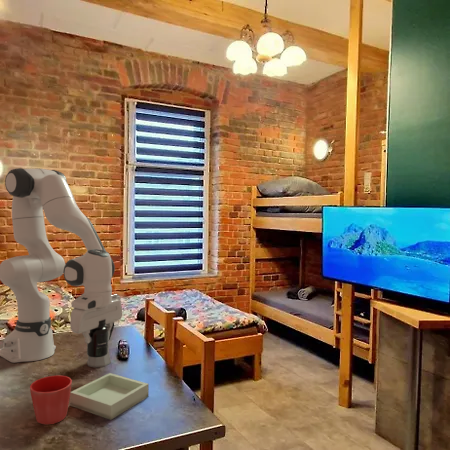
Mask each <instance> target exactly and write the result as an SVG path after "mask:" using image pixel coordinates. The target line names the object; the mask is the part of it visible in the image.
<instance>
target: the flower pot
mask: <svg viewBox="0 0 450 450" xmlns="http://www.w3.org/2000/svg"><path fill="white" fill-rule="evenodd" d="M72 381H73V380H72V379H71V377H69V376H67V375H56V374H55V375H49V376H44V377H42V378H38V379H36V380H35V381H33V382H32V383H31V384H30V386H29V392H30V396H31V401H32V406H33V407H32V408H33V411H34V415H35V420H36V422H37V423H38V424H42V425H45V426H46V425H54V424H57V423H59V422H61V421H63V420H64V419H65V418H66V417H67V416H68V415H67V414H68V410H69V406H70V392H72V383H73V382H72Z"/></svg>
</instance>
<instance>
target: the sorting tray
mask: <svg viewBox="0 0 450 450" xmlns="http://www.w3.org/2000/svg"><path fill="white" fill-rule="evenodd" d="M149 385H150V384H149V383H147V382H144V381H140V380H136V379H133V378H129V377H126V376H121V375H119V374H115V373H111V372H108V373H107V374H104V375H103V376H101V377H99V378H96V379H95V380H93V381H90V382H89V383H86V384H85V385H82V386H80V387H78V388H76V389H74V390H71V392H70V399H69V406H70V407H73V408H76V409H79V410H82V411H84V412H87V413H90V414H92V415H95V416H99V417H101V418H104V419H107V420H110V421H112V420H113V419H114V418H116V417H118V416H119V415H121V414H123V413H125V412H126V411H127V410H129V409H131V408H132V407H134V406H136V405H138V404H139V403H141V402H142V401H144V400H146V399H147V398H149V395H150V394H149V388H150V387H149Z"/></svg>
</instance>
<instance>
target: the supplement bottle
mask: <svg viewBox="0 0 450 450" xmlns="http://www.w3.org/2000/svg"><path fill="white" fill-rule="evenodd" d="M105 325H106V319H104V320H101V321H99V325H98V327H97V328H94V329H91V330H90V333H89V336H90V337H92V342H90V343H86V346H87V347H86V354H87V357H88V356H89V357H95V358H96V357H103V356H105V355H107V353H108V348H109V341H108V332H109V331H108V328H107V327H106V326H105Z"/></svg>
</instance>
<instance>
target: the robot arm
mask: <svg viewBox="0 0 450 450" xmlns="http://www.w3.org/2000/svg"><path fill="white" fill-rule="evenodd" d="M4 186H5V189H6V190H7V193H8V194H9V195H10V196H12V202H11V217H12V218H11V220H12V230H13V239H14V241H15V242H16V243H17V244H19V245H21V246H23V247H24V248H25V249H26V250H27V253H28V254H26V255H17V256H13V257H10V258H8V259H7V258H6V259H4V260H2V262H0V282H1V283H2V284H3V285H4V286H6V287H8V288H9V289H10V290H11V291H12V293H13V294H14V296H15V299H16V304H17V319H16V320H14V322H13V324H15V327H14V329H13V330H12V331H10V333H9V334H8V335H6V336H5V337H4V339H3V347H2V348H0V357H1V358H3V359H4V360H7V361H8V362H10V363H12V364H14V363H15V364H16V363H22V362H33V361H40V360H41V361H42V360H45V359H47V358H49V357H51V356H53V355H54V354H55V349H56V347H57V346H56V345H55V344H54V336H53V335H54V334H53V333H54V332H53V330H52V328H51V326H52V318H51V315H50V314H51V313H50V298H49V297H48V295H47V294H45V293H43V291H42V292H41V291H40V290H39V288H38V283H44V282H48V281H52V280H55V279H58V278H59V277H62V276H63V278H64V280H65V281H66V283H67V284H68V285H69V286H72V287H80V286H83V287H84V290H83V291H84V292H83V293H82V294H80V295H79V296H78V297H77V298H75V299H74V300H72V301H71V308H73V309H72V310H71V312H70V313H71V314H70V320H69V321H70V323H69V324H70V331H72V332H73V333H75V334H82V336H83V337H84V343H86V344H87V343H90V342H92V337H90V336H89V333H90V330H91V329H94V328H97V327H98V325H99V321H101V320H104V319H106V327H107V328H108V331H109V332H108V336H109V335H110V330H111V328H112V326H113V322H114V323H115V322H117V321H120V320H122V318H123V307H122V306H123V305H122V301H121V296H120V295H119V294H117V293H114V294H113V287H112V278H113V276H114V274H115V271H116V265H115V262H114V260H113V258H112V257H111V255H110V253H109V252H108V251H106V248H105V245H103V243H102V241H101V239H100V236H99V234H98V233H97V231H96V228H95V227H94V225H93V223H92V222H91V220H90V218H89V217H88V216H87V215H85V214H84V213H83V212H82V211H81V209H80V208H79V206H78V204H77V202H76V199H75V197H74V194H73V191H72V189H71V187H70V186H69V183H68V181H67V177H66V175H65V173H62V172H61V171H59V170H55V169H47V168H38V167H37V168H22V167H20V168H12V169H10V170H9V171H8V172H7V173H6V176H5V180H4ZM45 218H46V220H47V221H48V223H49V224H51V226H54V228H57V229H60V230H64V231H67V232H70V233H72V234H75V235H76V236H78V237H79V238H80V239H81V241H82V242H83V244H84V246H85V248H86V251H85V253H84V254H82V255H81V256H78V257H75V258H71V259H69V260H67V261H66V262H65V259H64V257H63V256H62V255H60V254H59V253H57V252H56V251H55V250H54V249H53V247H52V246H51V243H50V241H49V239H48V236H47V232H46V224H45Z"/></svg>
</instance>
